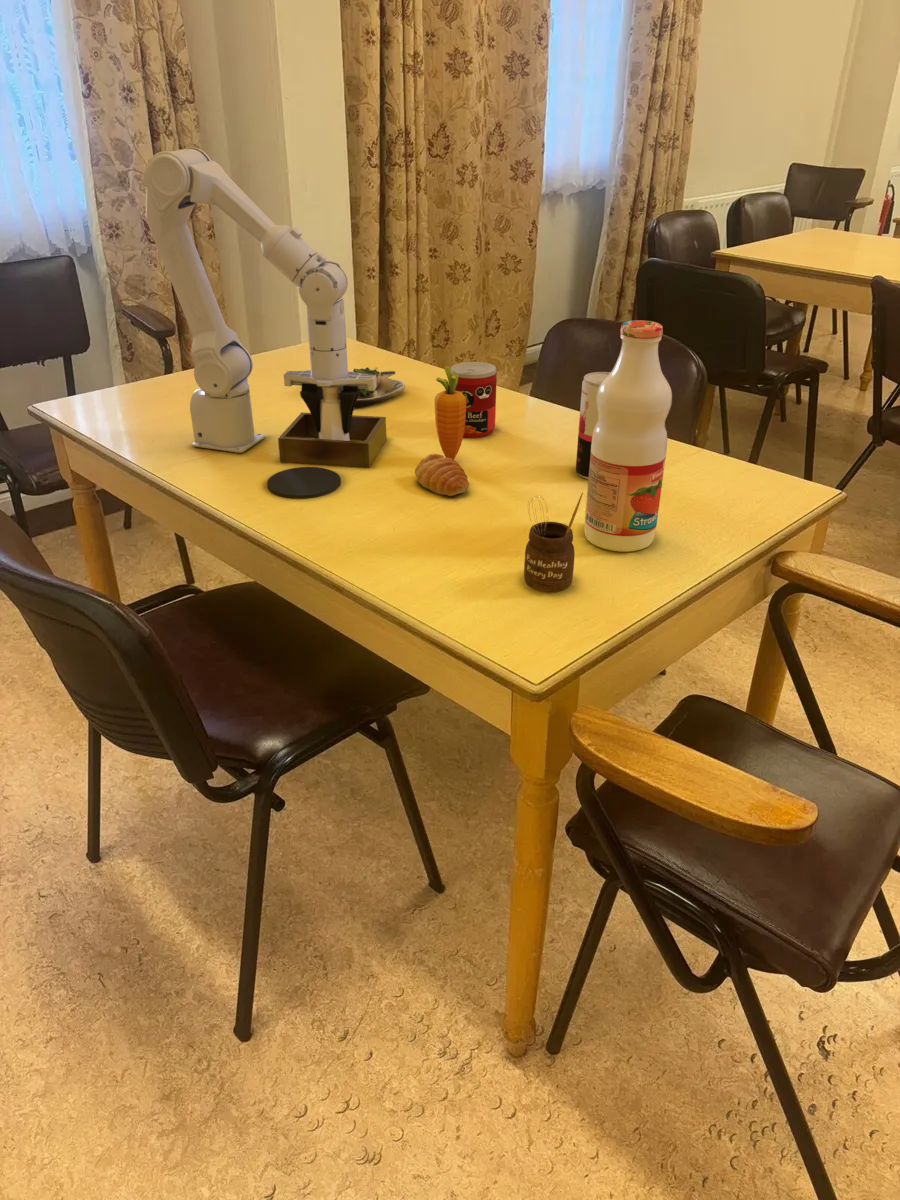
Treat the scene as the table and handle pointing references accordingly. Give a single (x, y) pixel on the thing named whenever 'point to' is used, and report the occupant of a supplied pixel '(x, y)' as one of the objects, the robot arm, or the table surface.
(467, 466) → the table surface
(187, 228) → the robot arm
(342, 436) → the salt shaker
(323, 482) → the mat
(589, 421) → the beverage can
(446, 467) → the pastry
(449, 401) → the carrot
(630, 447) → the fruit juice
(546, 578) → the utensil holder
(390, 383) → the salad plate
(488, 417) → the canned food
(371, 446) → the rectangular frame
